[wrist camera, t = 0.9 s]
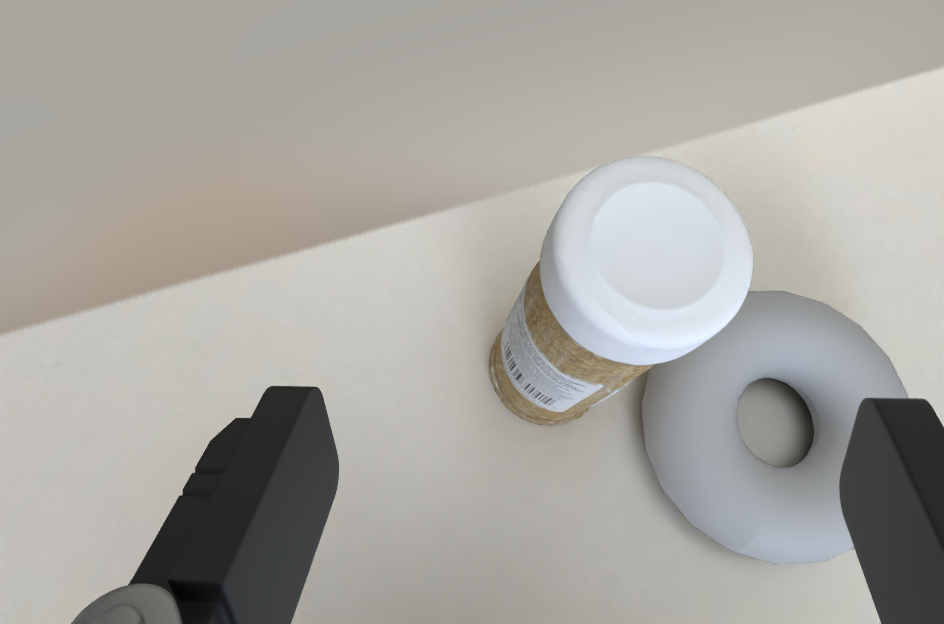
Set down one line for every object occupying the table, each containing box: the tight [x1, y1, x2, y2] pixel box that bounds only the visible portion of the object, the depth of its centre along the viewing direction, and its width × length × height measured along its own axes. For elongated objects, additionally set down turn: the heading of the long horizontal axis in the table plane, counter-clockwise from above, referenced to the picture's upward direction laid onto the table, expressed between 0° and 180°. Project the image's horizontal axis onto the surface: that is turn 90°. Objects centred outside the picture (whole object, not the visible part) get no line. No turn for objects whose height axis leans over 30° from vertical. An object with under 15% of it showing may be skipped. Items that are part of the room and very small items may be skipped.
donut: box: [641, 291, 908, 564], centre depth 28 cm, size 10×4×10 cm
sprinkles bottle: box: [489, 157, 753, 425], centre depth 23 cm, size 5×5×14 cm
